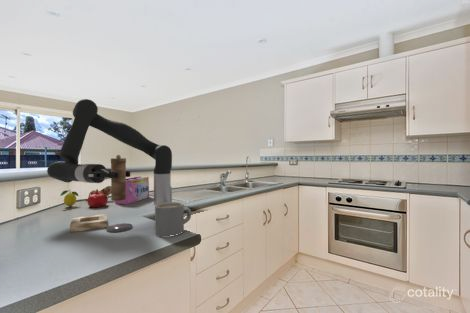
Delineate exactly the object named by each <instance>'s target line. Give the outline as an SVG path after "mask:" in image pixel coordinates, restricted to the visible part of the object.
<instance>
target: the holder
mask: <svg viewBox="0 0 470 313" xmlns="http://www.w3.org/2000/svg"><path fill="white" fill-rule="evenodd" d="M107 227H108V218H107V213H104V214H96V215H87V216H78V217H72V219H71V222H70V224H69V232H70V233H74V232H82V231H87V230H88V231H89V230H96V229H102V228H107Z"/></svg>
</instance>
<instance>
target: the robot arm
mask: <svg viewBox="0 0 470 313" xmlns="http://www.w3.org/2000/svg"><path fill="white" fill-rule="evenodd" d="M98 111H99V108H98V106H97V104H96V102H94V101H93V100H91V99H88V98H84V99H83V98H82V99H80V100H78V101H77V102H76V104H74V107H73V110H72V115H73V117H74V118H73V122H72V124H71V127H70V128H69V131H68V132H67V135H66V136H65V139H64V141H63V143H62V146H61V148H60V151H59V154H58V156H59V158H60V159H62V160H63V161H54V162H52V163H50V165H48V167H47V169H46V173H47V175H48V176H49V177H50V178H52V179H55V180H57V181H60V182H64V183H72V182H82V183H85V184H86V183H89V184H91V183H92V184H101V183H103V182H104V181H105V180H108V179H109V180H111V178H119V173H118V172H111V168H107V167H106V166H105V165H103V164H100V163H99V164H98V163H82V164H80V163H79V156H80V154H81V150H82V149H83V145H84V142H85V138H86V134H87V131H88V129H89V128H90V127H91V128H94V129H96V130H98V131H101V132H102V133H104V134H106V135H107V136H110V137H112V138H114V139H115V140H117V141H119V142H121V143H123V144H125V145H127V146H129V147H131V148H133V149H136V150H138V151H141V152H143V153H144V154H146V155H147V156H149V157H151V158H152V159H154V161H155V162H154V163H155V165H154V168H153V205H154V206H155V205H157V204H160V203H166V202H173V189H172V188H173V187H172V184H171V183H172V182H171V181H172V179H171V178H172V176H171V170H172V167H173V166H172V165H173V152H172V150H171V148H170V147H169V146H167V145H161V144H157V143H156V142H153V141H152V140H150V139H148V138H147V137H145V136H144V135H143V134H142V133H141V132H139V131H138V130H137V129H135V128H134V127H132V126H131V125H128V124H126V123H123V122H120V121H117V120H112V119H108V118H106V117H104V116H101V115H100V114H98ZM126 178H131V171H129V170H126Z"/></svg>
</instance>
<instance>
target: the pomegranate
mask: <svg viewBox="0 0 470 313" xmlns="http://www.w3.org/2000/svg"><path fill="white" fill-rule="evenodd" d="M95 190H96V192H95V193H92V194H94V195H91V193H90V192H89V194H90V196H89V195H88V198H87V199H88V200H87V199H86V200H87V201H86V202H87V205H88V206H89V207H90V208H100V207H101V208H103V207H104V206H106V205H107V204H108V198H109V197H108V196H106V195H104V194H102V193H103V192H100V193H98V191H99V189H95ZM104 193H105V192H104Z"/></svg>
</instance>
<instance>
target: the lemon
mask: <svg viewBox="0 0 470 313" xmlns="http://www.w3.org/2000/svg"><path fill="white" fill-rule="evenodd" d="M68 192H69V193H68ZM64 195H65V196H64ZM59 196H60V197H61V196H64V197H63V204H64V206H65V205H66V206H68V207H70V208H71V207H72V206H75V204H76V203H77V197H79V193H78V192H77V191H71V190H64V191H62V192H61V193H60V195H59Z"/></svg>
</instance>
